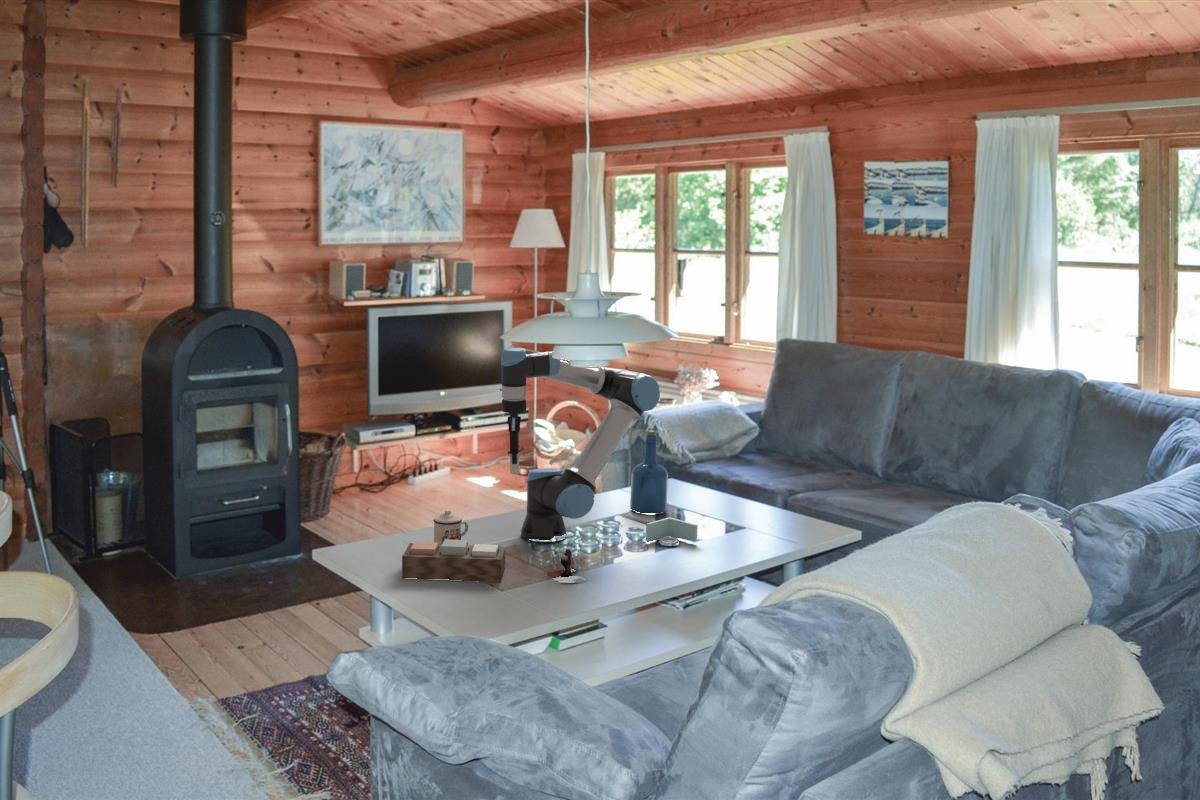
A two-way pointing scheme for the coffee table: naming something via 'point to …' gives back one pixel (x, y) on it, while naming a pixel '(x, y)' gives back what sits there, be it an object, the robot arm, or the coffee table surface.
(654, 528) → the right angle wall
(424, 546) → the pink square block
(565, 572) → the figurine
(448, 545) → the slate key
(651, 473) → the wine bottle
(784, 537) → the coffee table surface
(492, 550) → the cream key
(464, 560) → the frame
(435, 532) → the teacup with lid
